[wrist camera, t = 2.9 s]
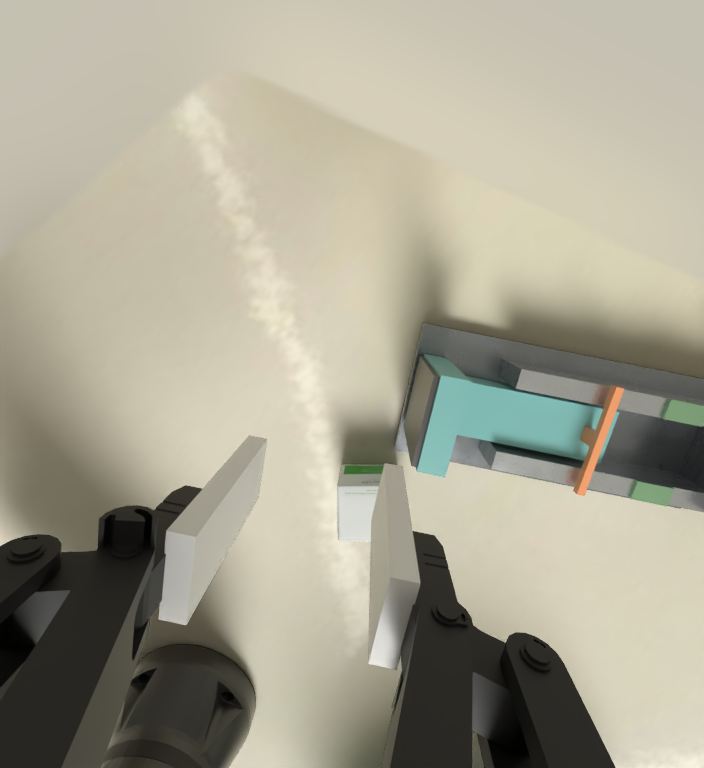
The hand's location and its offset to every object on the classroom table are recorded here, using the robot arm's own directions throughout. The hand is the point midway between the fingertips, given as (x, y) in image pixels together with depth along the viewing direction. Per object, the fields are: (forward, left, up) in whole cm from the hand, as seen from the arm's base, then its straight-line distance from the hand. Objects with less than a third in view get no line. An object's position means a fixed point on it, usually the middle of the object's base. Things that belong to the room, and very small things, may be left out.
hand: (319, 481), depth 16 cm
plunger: (+14, 0, -20) cm, 24 cm away
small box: (+4, -11, -21) cm, 24 cm away
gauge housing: (+19, 0, -21) cm, 28 cm away
